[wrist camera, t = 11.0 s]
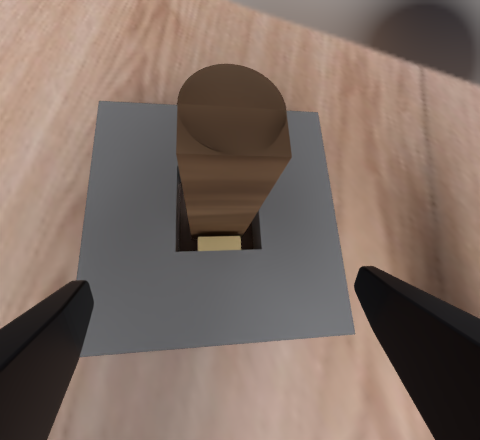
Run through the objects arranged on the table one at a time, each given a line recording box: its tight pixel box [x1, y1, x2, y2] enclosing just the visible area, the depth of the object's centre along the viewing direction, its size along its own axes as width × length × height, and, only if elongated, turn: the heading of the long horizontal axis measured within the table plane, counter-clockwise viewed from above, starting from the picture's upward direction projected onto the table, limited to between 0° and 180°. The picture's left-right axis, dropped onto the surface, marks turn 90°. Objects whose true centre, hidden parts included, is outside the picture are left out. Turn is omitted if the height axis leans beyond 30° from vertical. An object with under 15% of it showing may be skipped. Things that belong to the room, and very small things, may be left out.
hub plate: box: [77, 101, 355, 357], centre depth 20 cm, size 18×18×3 cm
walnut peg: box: [176, 64, 292, 240], centre depth 16 cm, size 4×4×13 cm
